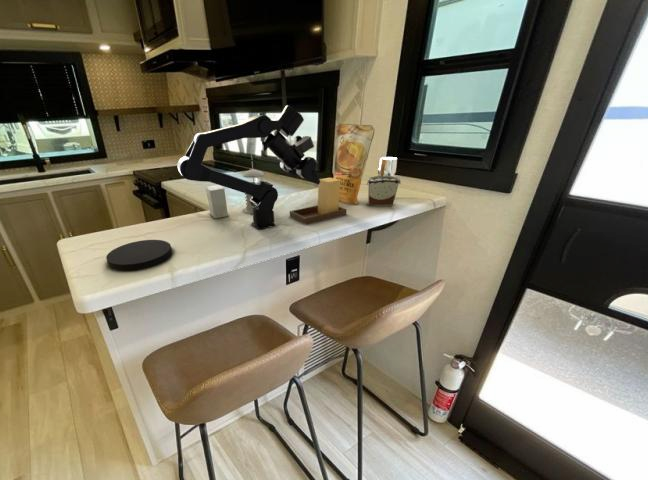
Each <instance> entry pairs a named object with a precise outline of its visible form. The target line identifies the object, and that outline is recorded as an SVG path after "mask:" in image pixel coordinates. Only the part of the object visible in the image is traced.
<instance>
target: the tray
mask: <svg viewBox="0 0 648 480" xmlns="http://www.w3.org/2000/svg"><path fill="white" fill-rule="evenodd" d="M346 215H347V208H344V207H341V206H339V208H338V211H334V212H330V213H325V214H320V213H318V204H317V205H312V206H308V207H302V208H298V209H294V210H289V217H290V218H292V219H294V220H296V221H298V222H300V223H302V224H304V225H309V224H313V223H316V222H321V221H326V220H330V219H333V218H338V217H342V216H346Z"/></svg>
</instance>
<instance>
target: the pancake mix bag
mask: <svg viewBox="0 0 648 480" xmlns="http://www.w3.org/2000/svg"><path fill="white" fill-rule="evenodd" d="M375 130H376V128H374V127H373V125H370V124H355V123H339V124H337V125H336V126H335V147H334V160H333V161H334V162H333V166H334V167H333V178H334V179H338V180H340V192H339V202H340V201H341V202H343V203H346V204H348V205H349V204H350V205H353V204H355V205H358V195H359V192H360V189H361V185H362V181H363V175H364V172H365V168H366V165H367V162H368V158H369V153H370V149H371V145H372V142H373V140H374V136H375Z"/></svg>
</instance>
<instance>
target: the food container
mask: <svg viewBox="0 0 648 480" xmlns="http://www.w3.org/2000/svg"><path fill="white" fill-rule="evenodd" d="M366 185H367V186H368V190H367V191H368V193H367V195H368V196H367V197H368V200H367V201H368V204H367V205H368V206H374V207H375V206H376V207H378V206H394V203H395V200H396V195H397V191H398V187H399V185H401V178H400V177H399V176H378V175H376V176H371V177H369V178H368V179H367V182H366Z"/></svg>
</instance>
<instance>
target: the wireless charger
mask: <svg viewBox="0 0 648 480" xmlns="http://www.w3.org/2000/svg"><path fill="white" fill-rule="evenodd" d="M172 255H173V249H172V244H171V243H170V242H168V241H166V240H163V239H143V240H137V241H133V242H128V243H125V244H123V245H119V246H118V247H116V248H113V249H112V250H111V251H109V253H107V254H106V257H105V259H106V262H107V265H108V267H109V268H110V269H111V270H114V271H118V272H135V271H142V270H147V269H150V268H153V267H156V266H158V265H162V264H163V263H165V262H166V261H168V260H170V258H171V257H172Z"/></svg>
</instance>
